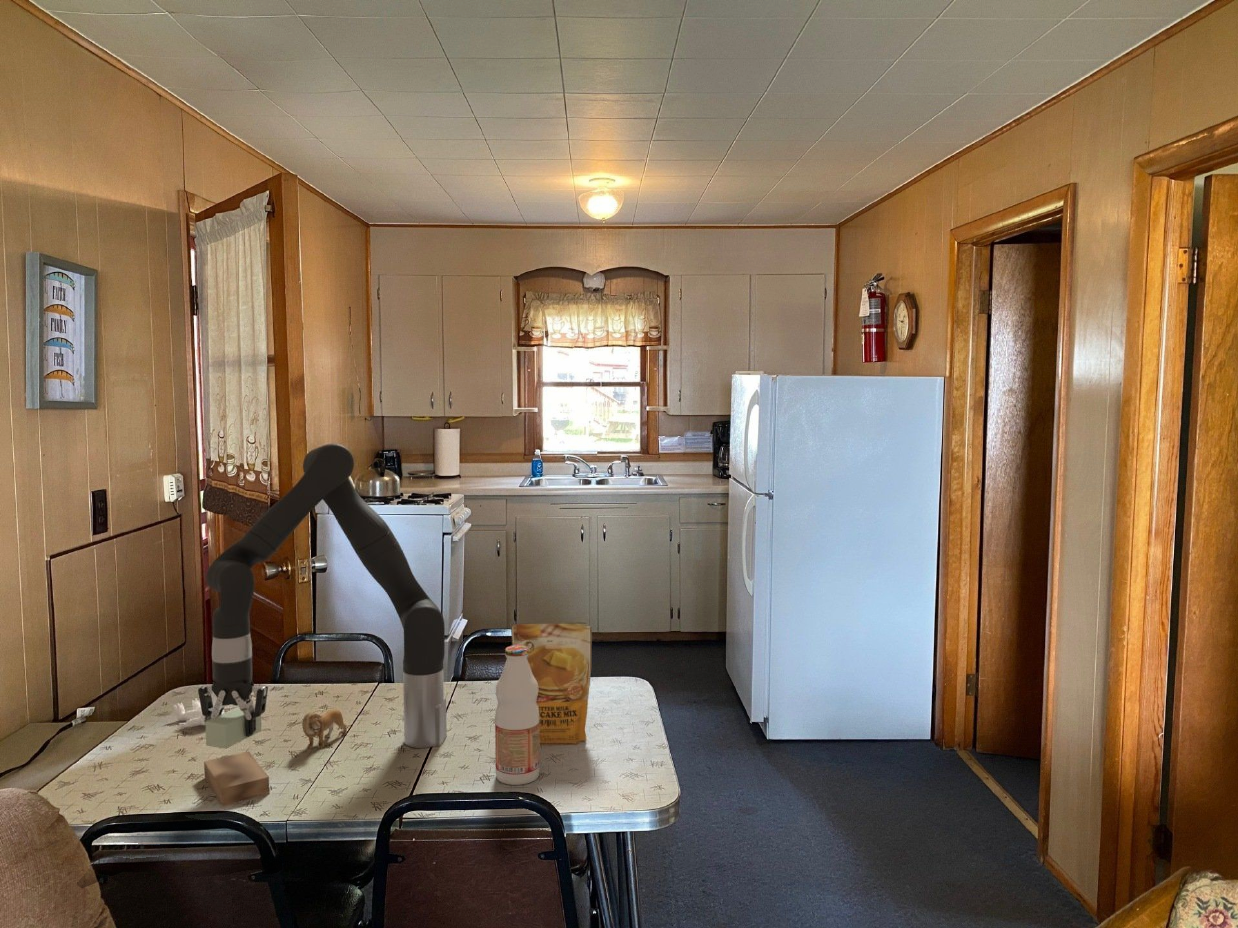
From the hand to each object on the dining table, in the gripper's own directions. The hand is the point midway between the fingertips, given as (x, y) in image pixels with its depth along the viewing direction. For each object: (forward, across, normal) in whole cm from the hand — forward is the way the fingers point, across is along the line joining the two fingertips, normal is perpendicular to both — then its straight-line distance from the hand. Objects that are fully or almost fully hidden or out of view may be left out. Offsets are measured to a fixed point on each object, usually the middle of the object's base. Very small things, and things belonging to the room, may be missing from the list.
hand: (234, 734), depth 179 cm
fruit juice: (+11, -58, -7) cm, 60 cm away
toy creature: (+11, +26, -34) cm, 44 cm away
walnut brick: (+11, 0, 0) cm, 11 cm away
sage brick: (+1, 0, 0) cm, 1 cm away
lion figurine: (+11, -10, -23) cm, 27 cm away
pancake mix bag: (+11, -63, -27) cm, 70 cm away
